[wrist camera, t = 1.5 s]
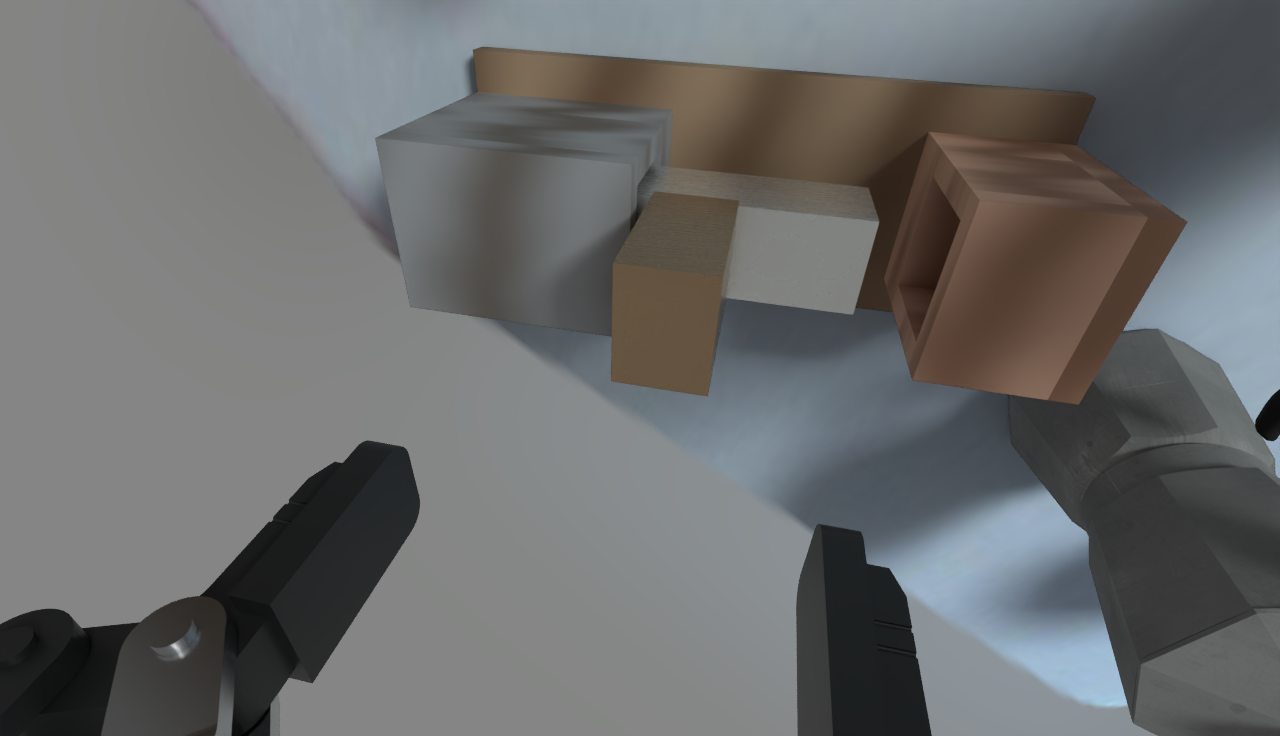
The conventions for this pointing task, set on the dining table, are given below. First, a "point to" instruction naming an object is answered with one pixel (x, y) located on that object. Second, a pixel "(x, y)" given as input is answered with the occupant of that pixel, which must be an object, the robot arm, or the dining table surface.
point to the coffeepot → (1173, 530)
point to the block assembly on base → (798, 150)
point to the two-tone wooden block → (727, 264)
